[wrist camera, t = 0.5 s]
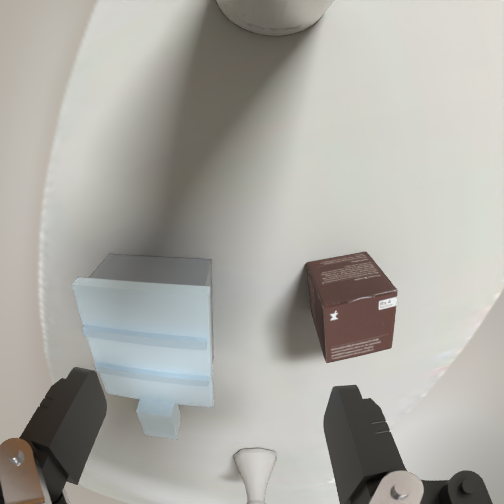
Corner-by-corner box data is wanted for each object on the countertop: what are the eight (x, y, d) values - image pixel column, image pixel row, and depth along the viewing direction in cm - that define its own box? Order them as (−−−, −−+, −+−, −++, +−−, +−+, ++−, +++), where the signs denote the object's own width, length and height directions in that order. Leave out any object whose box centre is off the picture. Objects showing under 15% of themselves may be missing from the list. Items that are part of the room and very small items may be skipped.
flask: (230, 462, 44) (228, 511, 35) (236, 444, 41) (235, 499, 32) (271, 465, 45) (274, 513, 35) (282, 447, 42) (286, 501, 32)
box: (310, 313, 30) (323, 364, 24) (304, 260, 28) (320, 306, 21) (367, 302, 30) (392, 349, 23) (368, 249, 27) (399, 290, 21)
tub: (109, 254, 27) (84, 282, 22) (211, 259, 28) (203, 291, 23) (128, 348, 32) (113, 382, 27) (213, 357, 33) (208, 394, 28)
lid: (78, 277, 22) (61, 296, 19) (210, 286, 22) (205, 310, 20) (119, 408, 29) (112, 428, 27) (215, 421, 30) (213, 443, 27)
